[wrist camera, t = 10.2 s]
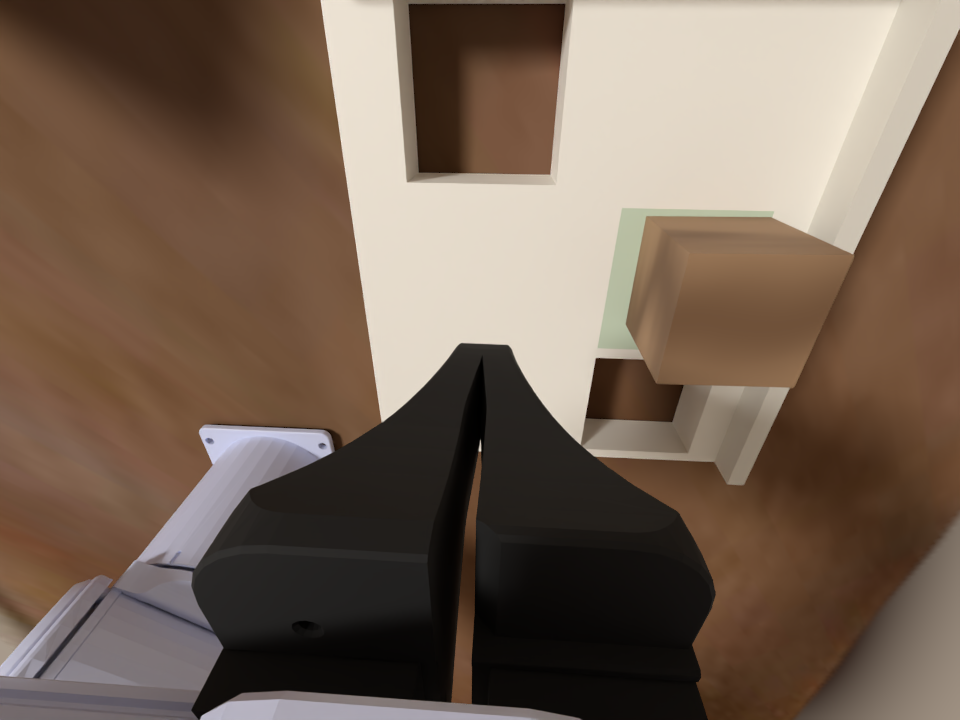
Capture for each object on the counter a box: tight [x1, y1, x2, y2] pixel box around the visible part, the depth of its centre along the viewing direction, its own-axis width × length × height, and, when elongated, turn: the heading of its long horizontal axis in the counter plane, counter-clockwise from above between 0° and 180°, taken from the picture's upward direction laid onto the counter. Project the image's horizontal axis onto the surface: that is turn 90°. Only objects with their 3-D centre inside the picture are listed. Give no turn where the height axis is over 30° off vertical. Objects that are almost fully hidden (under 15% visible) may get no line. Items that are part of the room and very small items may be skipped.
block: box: [626, 216, 855, 388], centre depth 15 cm, size 4×4×4 cm
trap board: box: [321, 0, 960, 485], centre depth 18 cm, size 20×18×4 cm
